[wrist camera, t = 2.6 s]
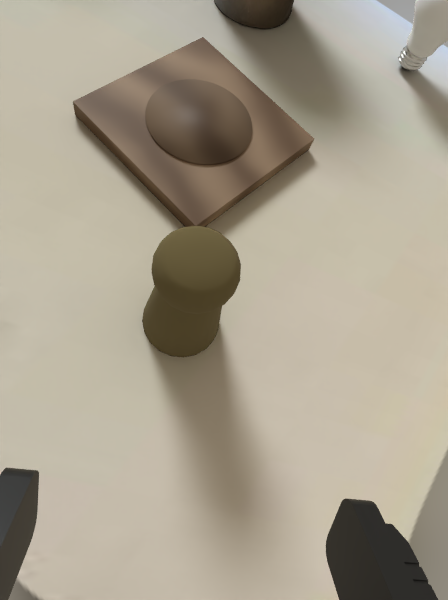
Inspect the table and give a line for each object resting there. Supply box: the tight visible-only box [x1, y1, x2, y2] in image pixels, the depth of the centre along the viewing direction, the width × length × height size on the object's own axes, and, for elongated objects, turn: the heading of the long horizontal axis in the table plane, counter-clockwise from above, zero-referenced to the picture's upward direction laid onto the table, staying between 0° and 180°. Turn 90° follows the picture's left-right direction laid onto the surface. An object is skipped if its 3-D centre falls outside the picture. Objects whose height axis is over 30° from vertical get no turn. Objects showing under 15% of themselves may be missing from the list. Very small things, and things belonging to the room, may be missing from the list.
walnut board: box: [73, 37, 314, 227], centre depth 39 cm, size 16×16×2 cm
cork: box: [142, 226, 241, 357], centre depth 28 cm, size 6×6×11 cm
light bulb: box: [398, 0, 448, 71], centre depth 45 cm, size 7×7×11 cm
